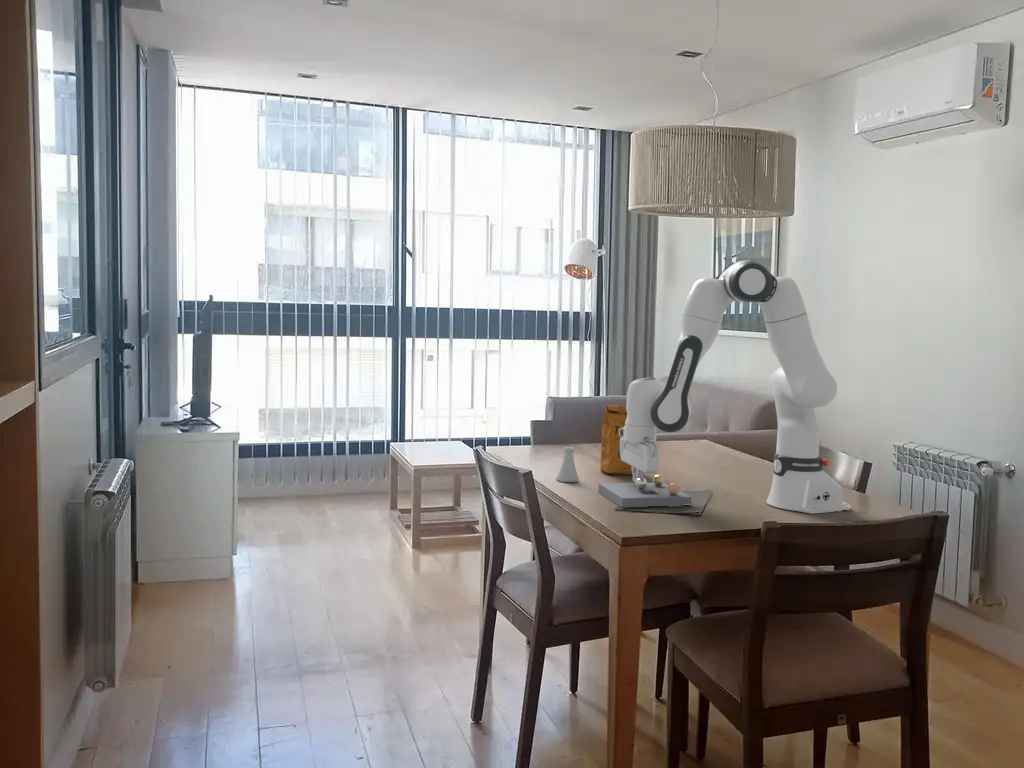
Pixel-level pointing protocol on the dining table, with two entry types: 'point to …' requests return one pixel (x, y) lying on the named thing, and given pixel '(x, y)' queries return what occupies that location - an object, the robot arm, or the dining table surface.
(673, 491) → the terracotta ball
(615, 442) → the coffee package
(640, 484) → the steel ball
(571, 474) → the flask
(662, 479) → the brass ball
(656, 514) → the dining table surface
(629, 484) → the seat plate
